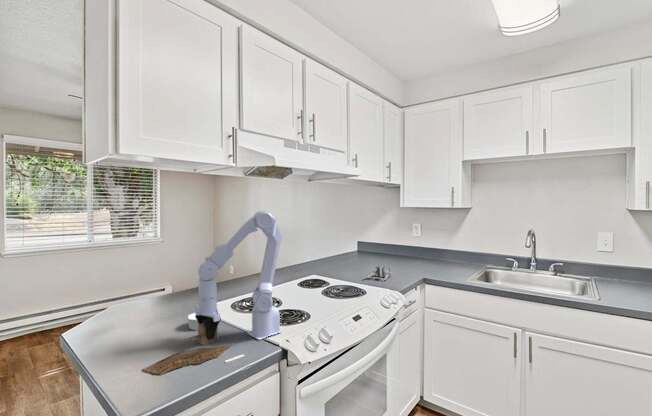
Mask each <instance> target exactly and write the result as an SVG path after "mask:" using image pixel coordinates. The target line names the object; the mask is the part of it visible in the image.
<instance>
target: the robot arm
mask: <svg viewBox="0 0 652 416" xmlns="http://www.w3.org/2000/svg"><path fill="white" fill-rule="evenodd" d="M258 229H260V230H261V231H262V232H263V234H264V235H265V237H266V238H267V239H266V245H265V249H264V255H263V260H262V264H261V270H260V275H259V279H258V282H257V285H256V288H255V289H254V292H253V293H252V295H251V296H252V301H253V304H254V305H253V307H252V309H251V313H252V314H251V322H252V323H251V325H252V326H251V330H250V331H247V333H246V334H247V335H249V336H251V337H253V338H254V339H255V340H257V341H261V340H264V339H266V337H267V338H269V337H268V336H270V337H272V336H271V335H273V336H275V335H274V334H276V335H278V334H277V333H279V334H281V333H282V331H281V322H280V321H281V320H280V319H281V315H280V311H279V309H278V307H276V306H274V305H273V304H274V300H273V282H274V278H275V274H276V273H275V272H276V266H277V262H278V257H279V252H280V247H281V242H282V237H283V236H282V234H283V233H281V230H280V227H279V225H278V221H277V219H276V218H275V217H274V215H273V214H272V213H271V212H269V211H265V210H260V211H257V212H255V214H253V216H251V217H250V218H249V219H248V220H247V221H245V222H244V223H243V225H242V226H241V227H240V228H239V229H238V230H237V231H236V233H235V234H233V236H232V237H231V238H229V241H227V243H221V244H220V245H219V246H218V245H216V246H215V247H214V251H213V252H212V253H211V254H210V255H209V256H208V257H207V256H206V257H205V258H204V261H203V262H202V263H201V264H200V265H199V267H198V270H197V274H198V276H199V279H198V304H197V305H196V311H195V312H194V313H195V314H196V316H195V318H196V319H197V321H198V323H199V324H200V323H204V325H205V328H206V335H207V339H208V340H211V339H214V337H215V333H216V329H217V326H219V324H220V322H221V320H222V318H221V313H219V310H218V307H217V306H218V305H217V304H218V303H217V302H218V300H217V299H218V298H217V297H218V295H217V294H218V293H217V292H218V290H217V288H218V287H217V278H216V277H217V275H218V270H221V269H222V268H223V267H224V266H225V265H226V264H227V262H228V261H230V260H231V258H233V256H234V249H235V248H237V247H238V246H239V244H241V242H242V241H244V239H245V238H247V237H248V236H249V235H250V234H251V233H256V232H257V231H259V230H258ZM280 332H281V333H280Z"/></svg>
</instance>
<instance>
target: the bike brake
mask: <svg viewBox="0 0 652 416" xmlns="http://www.w3.org/2000/svg"><path fill="white" fill-rule="evenodd" d="M385 268H386V267H385V266H384V267H382V269H380V266H378V265H377V264H376V265H375V269H372V270H371V271H372V273H371V274H368V276H367V277H366V278H364V279H362V280H361V281H362V282H363V281H366V280H369V279H373V280H372V281H382V280H386V281H387V280H388V278H389V276H392V274H393V272H392V270H391V269H392V268H391V266H388V270H386V269H385ZM381 271H382V272H381ZM381 273H382V274H381ZM381 275H382V276H383V277H384V276H385V277H384V278H383V277H382V279H381V278H379V277H380V276H381ZM373 276H379V277H376V278H374V277H373Z"/></svg>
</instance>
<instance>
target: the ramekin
mask: <svg viewBox="0 0 652 416" xmlns="http://www.w3.org/2000/svg"><path fill="white" fill-rule="evenodd" d="M195 316H196V314H195V312H193V313H191V314H188V316H187V319H188V320H187V321H188V328H189V329H190V330H191V331H198V324H199V323H198V321H197V319H196V318H195Z"/></svg>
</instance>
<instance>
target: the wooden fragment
mask: <svg viewBox="0 0 652 416" xmlns="http://www.w3.org/2000/svg"><path fill="white" fill-rule="evenodd" d="M231 347H232V344H228V345H227V344H225V345H219V346H212V347H203V348H195V349H189V350H183V351H179V352H175V353H173V354H171V355H169V356H167V357H165V358H163V359H160V360H159V361H156V362H155V363H154V362H153V364H150V365H148V366H146V367H143V368H142V369H141V371H142V370H143V371H145V372H144V373H145V374H147V373H149V374H150V373H152V374H150V375H155V376H156V374H157V376H162V375H164V374H166V373H168V372H171V371H173V370H176V369H179V368H180V369H181V368H183V367H186V366H189V365H192V366H193V365H198V364H202V363H204V362H206V361H208V360H212V359H216V358H219V357H220V356H221V355H222V354H223V353H224V352H225V351H226V350H228V349H230V348H231ZM143 371H142V372H143ZM149 374H148V375H149Z"/></svg>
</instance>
